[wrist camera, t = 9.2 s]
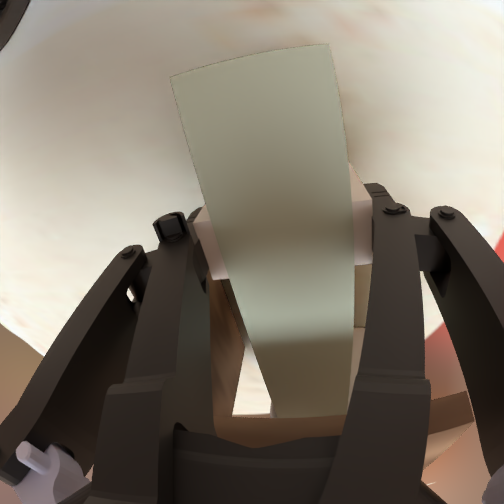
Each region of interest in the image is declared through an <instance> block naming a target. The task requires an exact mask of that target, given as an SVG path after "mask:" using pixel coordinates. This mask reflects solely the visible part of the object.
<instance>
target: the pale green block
mask: <svg viewBox="0 0 504 504" xmlns="http://www.w3.org/2000/svg"><path fill="white" fill-rule="evenodd" d="M170 81H171V85H172V89H173V92H174V96H175V100H176V103H177V107H178V111H179V114H180V118H181V122H182V125H183V129H184V132H185V136H186V139H187V143H188V146H189V150H190V153H191V157H192V160H193V164H194V167H195V170H196V174H197V177H198V180H199V184H200V187H201V190H202V194H203V197H204V200H205V204H206V207H207V210H208V213H209V217H210V220H211V223H212V226H213V230H214V233H215V236H216V239H217V242H218V245H219V249H220V252H221V255H222V258H223V261H224V264H225V267H226V270H227V273H228V276H229V280H230V283H231V286H232V289H233V292H234V295H235V298H236V301H237V304H238V307H239V310H240V313H241V316H242V318H243V321H244V324H245V327H246V330H247V333H248V336H249V339H250V342H251V345H252V348H253V350H254V353H255V356H256V359H257V362H258V365H259V367H260V370H261V373H262V376H263V379H264V381H265V384H266V387H267V390H268V392H269V395H270V398H271V401H272V403H273V406H274V409H275V411H276V414H277V417H278V418H302V417H321V416H334V415H345V414H347V406H348V397H349V387H350V376H351V364H352V349H353V330H354V292H355V269H354V231H353V212H352V197H351V184H350V173H349V163H348V154H347V145H346V137H345V129H344V122H343V115H342V109H341V103H340V97H339V91H338V85H337V80H336V74H335V69H334V64H333V59H332V55H331V50H330V46H329V44H319V45H309V46H301V47H293V48H286V49H280V50H274V51H268V52H262V53H257V54H252V55H247V56H243V57H238V58H234V59H230V60H226V61H222V62H218V63H214V64H211V65H207V66H203V67H200V68H197V69H193V70H190V71H187V72H184V73H181V74H178V75H175V76H172V77H170Z"/></svg>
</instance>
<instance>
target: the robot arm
mask: <svg viewBox="0 0 504 504" xmlns="http://www.w3.org/2000/svg"><path fill="white" fill-rule="evenodd" d="M28 2H29V0H0V50H1V49H2V48H3V46H4V45H5V44H6V42H7V41H8V39H9V38H10V36H11V35H12V33H13V31H14V30H15V28H16V26H17V24H18V22H19V20H20V19H21V17H22V15H23V13H24V11H25V8H26V6H27V4H28ZM348 163H349V161H348ZM349 173H350V184H351V197H352V212H353V231H354V266H358V265H366V264H372V274H371V284H370V294H369V303H368V311H367V318H366V326H365V332H364V339H363V345H362V351H361V357H360V362H359V368H358V372H357V375H356V377H355V381H354V385H353V390H352V394H351V398H350V403H349V407H348V411H347V415H346V419H345V423H344V427H343V430H342V434H341V435H337V436H324V437H305V438H301V439H297V440H293V441H289V442H284V443H280V444H275V445H270V446H265V447H260V448H250V447H246V446H243V445H240V444H237V443H234V442H231V441H228V440H225V439H222V438H219V437H217V434H216V431H215V427H214V419H213V400H212V378H211V348H210V291H209V283H208V280H207V277H206V275H207V273H208V270H209V271H210V273H211V276H212V279H213V280H219V279H229V276H228V273H227V270H226V267H225V264H224V261H223V258H222V255H221V252H220V249H219V245H218V242H217V239H216V236H215V233H214V230H213V226H212V223H211V220H210V217H209V213H208V210H207V207H206V204H205V205H204V206H203V207H200V208H197V209H196V210H195V211H193V212H192V213H191V214H190V216H189V217H188V219H187V220H186V219H185V216H184V214H183V213H182V212H173V213H169V214H166V215H164V216H162V217H160V218H158V219H157V220H156V221H155V222H154V223H153V226H154V229H155V231H156V234H157V236H158V239H159V241H160V243H159V246H158V249H157V250H154V251H151V252H148V253H145V252H144V249H143V247H142V246H141V245H133V246H131V245H130V246H128V247H126V248H124V249H123V250H122V251H120V252H119V253H118V254H117V255H116V256H115V258H114V259H113V260H112V261H111V263H110V264H109V265H108V266H107V268H106V269H105V270H104V272H103V273H102V274H101V276H100V277H99V278H98V279H97V281H96V282H95V283H94V285H93V286H92V287H91V289H90V290H89V291H88V293H87V294H86V296H85V297H84V298H83V300H82V301H81V302H80V304H79V305H78V307H77V308H76V310H75V311H74V312H73V314H72V315H71V317H70V318H69V320H68V321H67V323H66V324H65V326H64V327H63V328H62V330H61V331H60V333H59V335H58V336H57V338H56V339H55V341H54V342H53V344H52V345H51V347H50V348H49V350H48V352H47V353H46V355H45V356H44V358H43V360H42V361H41V363H40V365H39V366H38V368H37V370H36V372H35V373H34V375H33V377H32V378H31V380H30V382H29V384H28V386H27V387H26V389H25V391H24V393H23V395H22V396H21V398H20V400H19V402H18V404H17V405H16V406H15V408H14V409H13V410H12V411H11V412H10V414H9V415H8V416H7V417H6V418H5V420H4V421H3V422H2V423H1V425H0V480H1V481H3V482H4V483H6V484H8V485H10V486H11V487H12V488H13V489H14V491H15V492H16V494H17V496H18V497H19V499H20V500H21V502H22V503H23V504H447V503H446V502H445V501H444V500H442V499H441V498H440V497H439V496H438V495H437V494H436V493H435V492H433V491H432V490H431V489H430V488H429V487H428V486H427V485H426V484H425V483H424V482H422V481H421V477H422V472H423V466H424V460H425V453H426V446H427V438H428V428H429V417H430V402H431V385H430V381H429V380H428V379H425V374H424V373H425V371H424V370H425V347H424V346H425V345H424V343H425V340H424V315H423V301H422V289H421V279H420V271H423V272H424V276H425V278H426V281H427V283H428V285H429V287H430V289H431V291H432V294H433V296H434V298H435V300H436V303H437V305H438V307H439V310H440V312H441V314H442V317H443V319H444V322H445V324H446V327H447V329H448V332H449V334H450V337H451V340H452V343H453V345H454V348H455V351H456V354H457V357H458V360H459V362H460V366H461V369H462V372H463V375H464V378H465V382H466V385H467V389H468V392H469V395H470V399H471V403H472V407H473V411H474V415H475V419H476V424H477V428H478V433H479V438H480V443H481V447H482V451H483V456H484V459H485V462H486V465H487V468H488V471H489V473H490V476H491V479H490V481H489V482H488V485H487V488H486V490H485V491H484V494H483V496H482V503H483V504H504V263H503V262H502V261H501V259H500V258H499V257H498V255H497V254H496V253H495V251H494V250H493V249H492V248H491V246H490V245H489V244H488V243H487V241H486V240H485V239H484V238H483V237H482V235H481V234H480V233H479V232H478V231H477V230H476V228H475V227H474V226H473V225H472V224H471V223H470V222H469V221H468V219H467V218H466V217H465V216H464V215H463V214H462V213H461V212H460V211H458V210H456V209H454V208H453V207H450V206H449V207H448V206H438V207H434V208H433V209H431V211H430V218H423V217H414V216H411V214H410V210H409V209H408V207H406V206H405V205H402V204H399V203H395V201H394V200H393V199H392V197H391V196H390V195H389V193H388V192H387V190H386V189H385V188H384V186H382V185H380V184H378V183H370V184H363V183H362V182H361V180H360V178H359V177H358V175H357V174H356V172H355V170H354V169H353V167H352V166H351V164H350V163H349ZM128 288H129V289H130V291H131V293H132V294H133V296H134V299H133V301H132V302H131V301H130V299H129V298H128V296H127V290H128ZM93 464H94V466H93V475H92V481H91V482H90V481H89V479H87V478H86V477H85V476H86V475H87V473H88V472H89V470H90V469H91V467H92V465H93Z"/></svg>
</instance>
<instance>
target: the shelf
mask: <svg viewBox="0 0 504 504" xmlns="http://www.w3.org/2000/svg"><path fill="white" fill-rule="evenodd" d="M206 277H207V280H208V283H209V291H210V348H211V378H212V400H213V419H214V427H215V431H216V434H217V437H219V438H222V439H225V440H228V441H231V442H234V443H237V444H240V445H243V446H246V447H250V448H260V447H265V446H270V445H275V444H280V443H284V442H289V441H293V440H297V439H301V438H305V437H324V436H337V435H341V434H342V430H343V427H344V423H345V419H346V415H347V414H345V415H334V416H321V417H302V418H241V417H232V412H233V407H234V402H235V397H236V392H237V387H238V382H239V377H240V371H241V366H242V361H243V356H244V351H245V346H244V343H243V340H242V338H241V335H240V332H239V330H238V327H237V324H236V321H235V319H234V316H233V313H232V310H231V308H230V305H229V302H228V299H227V297H226V294H225V291H224V288H223V285H222V282H221V279H219V280H213V279H212V276H211V273H210V271H209V270H208V273H207V275H206ZM473 422H474V417H473V414H472V409H471V406H470V402H469V398H468V395H467V392H466V391H464V392H460V393H457V394H453V395H450V396H446V397H442V398H438V399H434V400H431V402H430V417H429V428H428V438H427V446H426V453H425V460H424V466H423V470H424V469H425V468H426V467H427V466H429V464H431V463H432V462H433V461H434V460H436V459H437V458H438V457H439V456H440V455H441V454H442V453H443V452H444V451H446V450H447V449H448V448H449V447H450V446H451V445H452V444H453V443H454V442H455V441H456V440H457V439H458V438H459V437H460V436H461V435H462V434H463V433H464V432H465V431H466V430H467V429H468V428H469V427H470V426H471V424H472V423H473Z"/></svg>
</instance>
